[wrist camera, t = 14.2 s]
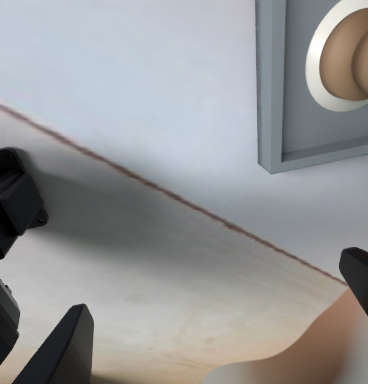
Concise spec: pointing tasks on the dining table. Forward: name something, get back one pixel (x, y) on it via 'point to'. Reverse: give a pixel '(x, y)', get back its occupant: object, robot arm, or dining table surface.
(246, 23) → the dining table surface
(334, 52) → the bead column
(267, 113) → the square tray
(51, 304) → the dining table surface
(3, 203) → the robot arm
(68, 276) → the dining table surface
